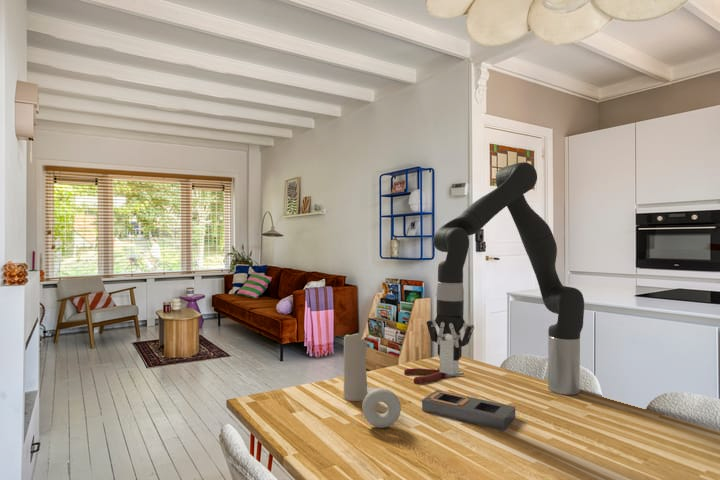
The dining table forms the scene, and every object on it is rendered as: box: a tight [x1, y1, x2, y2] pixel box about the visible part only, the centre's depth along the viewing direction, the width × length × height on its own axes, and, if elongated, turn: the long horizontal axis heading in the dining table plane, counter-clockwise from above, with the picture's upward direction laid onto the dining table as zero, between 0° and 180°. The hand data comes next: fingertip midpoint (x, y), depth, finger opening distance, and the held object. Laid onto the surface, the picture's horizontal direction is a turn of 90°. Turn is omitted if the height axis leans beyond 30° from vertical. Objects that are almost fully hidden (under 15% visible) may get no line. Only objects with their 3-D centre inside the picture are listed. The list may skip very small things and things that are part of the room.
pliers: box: [403, 367, 465, 384], centre depth 156 cm, size 12×20×3 cm, turn 104°
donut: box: [361, 387, 402, 429], centre depth 115 cm, size 10×3×10 cm, turn 86°
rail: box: [421, 389, 516, 432], centre depth 124 cm, size 10×23×3 cm, turn 55°
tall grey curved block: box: [343, 333, 378, 402], centre depth 139 cm, size 7×14×20 cm, turn 148°
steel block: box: [439, 337, 460, 375], centre depth 127 cm, size 4×4×9 cm
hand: (449, 358), depth 127 cm, fingers closed on steel block, 4 cm apart
